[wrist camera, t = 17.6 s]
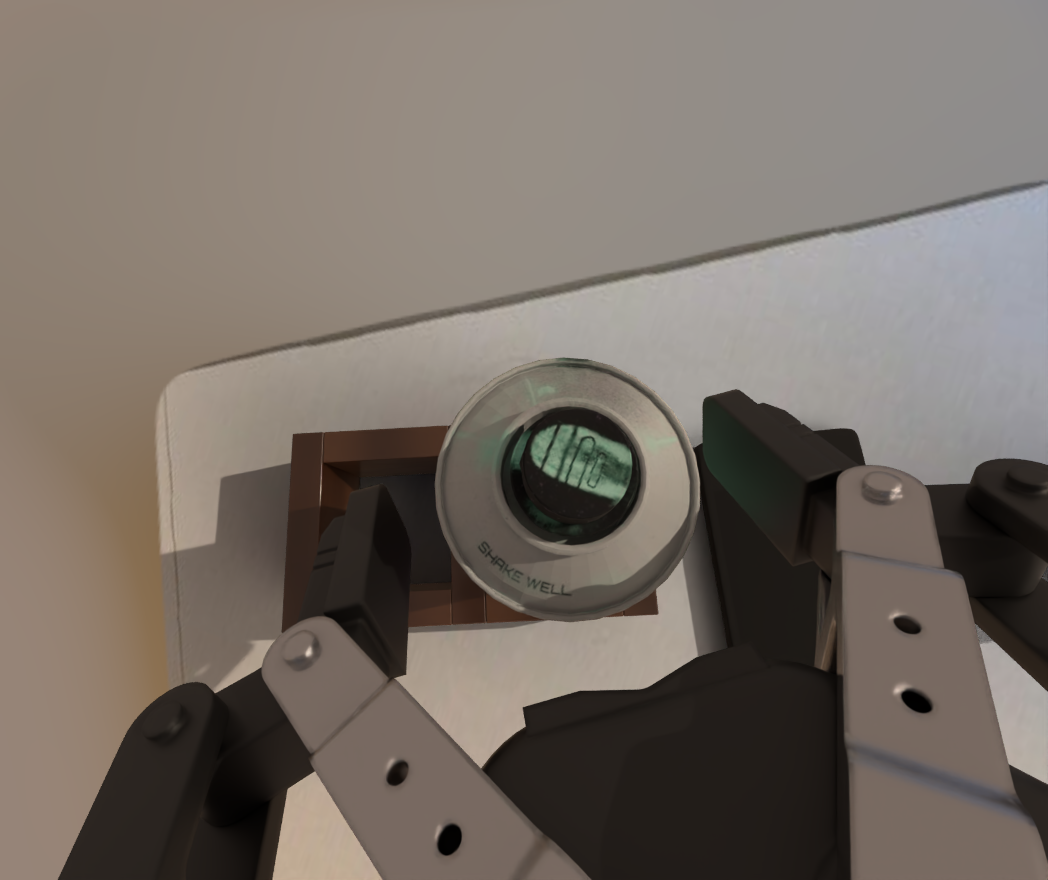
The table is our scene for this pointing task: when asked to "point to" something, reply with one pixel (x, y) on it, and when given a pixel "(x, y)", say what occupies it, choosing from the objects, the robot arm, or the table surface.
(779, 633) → the cell phone
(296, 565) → the rack
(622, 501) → the spray can
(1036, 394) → the table surface
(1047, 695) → the table surface
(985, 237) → the table surface
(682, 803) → the robot arm
